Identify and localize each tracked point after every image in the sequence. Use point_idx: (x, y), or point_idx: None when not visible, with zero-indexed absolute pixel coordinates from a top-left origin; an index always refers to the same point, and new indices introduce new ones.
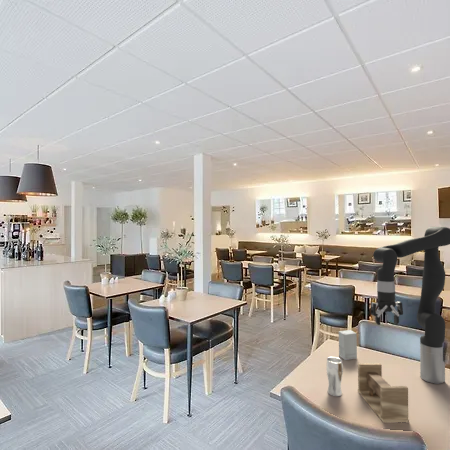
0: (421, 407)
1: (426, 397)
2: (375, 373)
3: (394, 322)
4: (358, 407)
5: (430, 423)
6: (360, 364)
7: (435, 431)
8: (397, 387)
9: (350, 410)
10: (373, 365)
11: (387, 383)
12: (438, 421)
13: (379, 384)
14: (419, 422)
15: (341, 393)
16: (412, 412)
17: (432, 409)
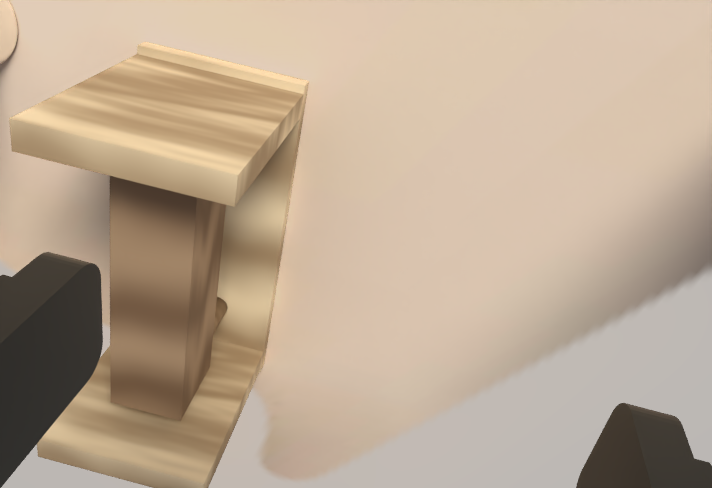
0: (438, 299)
1: (577, 234)
2: (175, 195)
3: (618, 429)
4: (69, 200)
5: (362, 395)
6: (25, 144)
7: (336, 432)
8: (139, 477)
9: (13, 210)
10: (155, 182)
11: (180, 334)
12: (416, 398)
13: (116, 327)
14: (315, 376)
15: (3, 58)
16: (345, 316)
17: (484, 329)
